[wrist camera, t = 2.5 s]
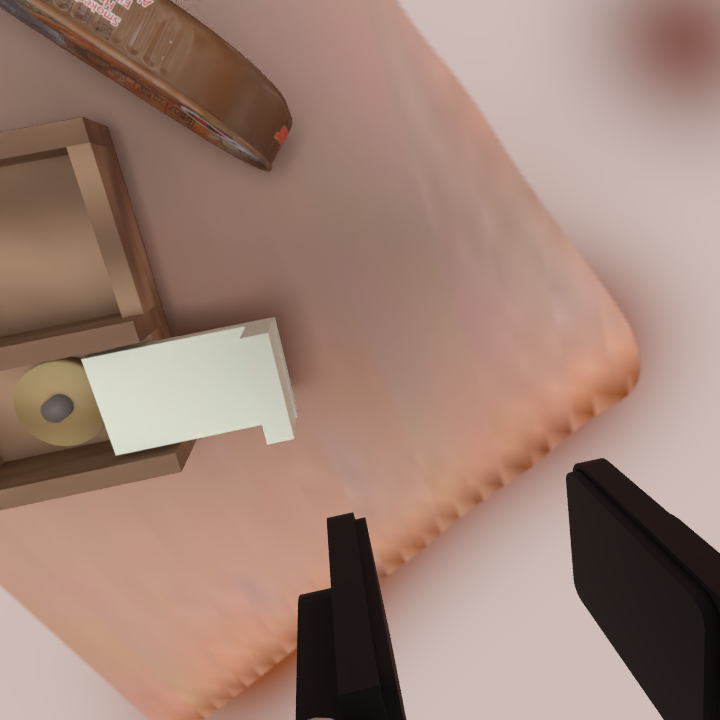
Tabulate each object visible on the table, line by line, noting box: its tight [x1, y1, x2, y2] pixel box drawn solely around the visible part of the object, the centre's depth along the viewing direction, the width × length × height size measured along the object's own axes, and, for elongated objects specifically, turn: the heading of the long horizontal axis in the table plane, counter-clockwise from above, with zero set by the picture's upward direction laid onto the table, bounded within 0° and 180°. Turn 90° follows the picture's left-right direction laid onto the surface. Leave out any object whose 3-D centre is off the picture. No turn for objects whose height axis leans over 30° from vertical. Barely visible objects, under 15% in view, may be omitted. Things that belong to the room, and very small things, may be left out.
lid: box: [81, 317, 298, 456], centre depth 24 cm, size 5×9×3 cm, turn 100°
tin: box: [0, 0, 292, 171], centre depth 20 cm, size 15×3×8 cm, turn 58°
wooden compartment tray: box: [0, 117, 197, 510], centre depth 25 cm, size 16×11×5 cm
